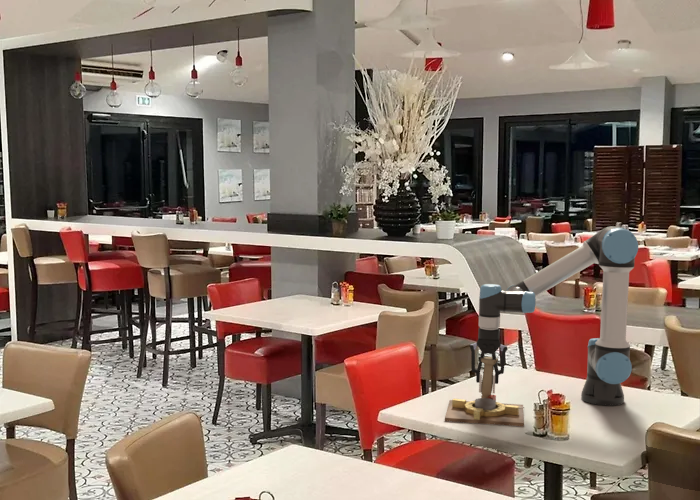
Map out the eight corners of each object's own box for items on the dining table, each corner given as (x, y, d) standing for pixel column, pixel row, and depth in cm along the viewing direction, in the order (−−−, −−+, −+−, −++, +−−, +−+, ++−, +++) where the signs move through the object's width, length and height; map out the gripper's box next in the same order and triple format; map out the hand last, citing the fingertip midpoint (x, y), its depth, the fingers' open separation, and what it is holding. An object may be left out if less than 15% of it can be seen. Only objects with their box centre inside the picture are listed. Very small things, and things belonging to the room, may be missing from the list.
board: (523, 408, 289) (524, 394, 288) (524, 426, 267) (525, 412, 267) (449, 403, 294) (449, 390, 293) (444, 421, 272) (445, 407, 272)
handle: (496, 400, 292) (500, 359, 290) (484, 402, 288) (488, 360, 286) (486, 396, 296) (490, 356, 294) (474, 398, 292) (478, 357, 290)
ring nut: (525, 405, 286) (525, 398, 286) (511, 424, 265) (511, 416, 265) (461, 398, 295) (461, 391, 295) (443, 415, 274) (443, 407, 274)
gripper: (513, 327, 291) (511, 390, 294) (465, 324, 295) (463, 387, 297) (513, 331, 284) (511, 396, 286) (464, 328, 287) (462, 393, 290)
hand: (486, 391), depth 292 cm, fingers closed on handle, 4 cm apart
